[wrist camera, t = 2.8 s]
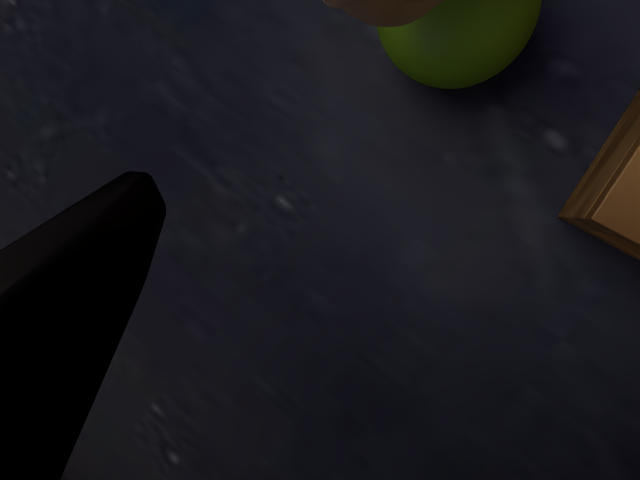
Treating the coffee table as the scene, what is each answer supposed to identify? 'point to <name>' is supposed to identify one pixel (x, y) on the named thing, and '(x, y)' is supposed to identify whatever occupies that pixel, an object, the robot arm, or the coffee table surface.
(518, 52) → the snail figurine
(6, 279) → the robot arm
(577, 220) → the tan rectangular block
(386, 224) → the coffee table surface
